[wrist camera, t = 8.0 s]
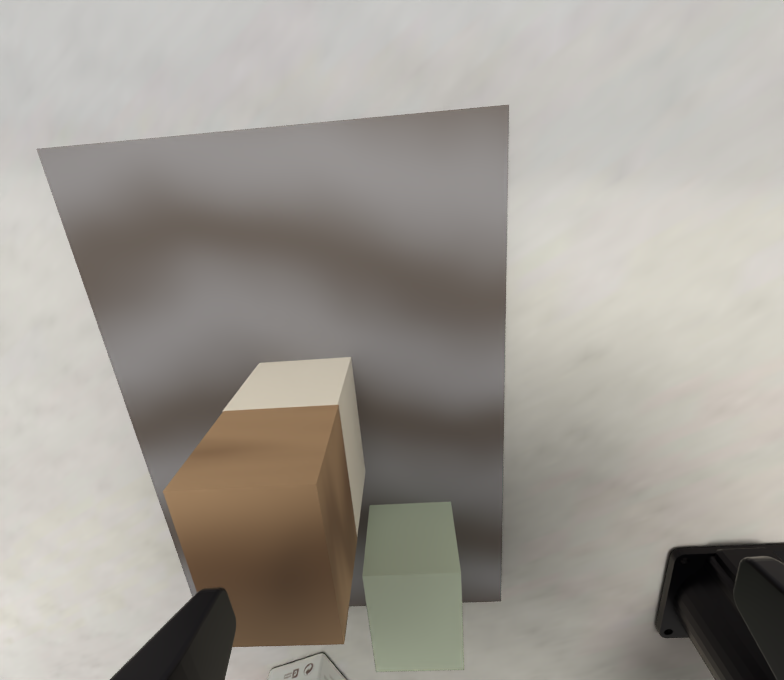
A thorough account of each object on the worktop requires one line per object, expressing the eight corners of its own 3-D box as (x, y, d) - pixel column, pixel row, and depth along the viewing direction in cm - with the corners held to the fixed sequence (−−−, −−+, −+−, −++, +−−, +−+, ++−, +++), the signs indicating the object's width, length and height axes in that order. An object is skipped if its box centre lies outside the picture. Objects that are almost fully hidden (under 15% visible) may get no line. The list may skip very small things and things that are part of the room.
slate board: (496, 581, 24) (501, 601, 23) (206, 591, 25) (197, 611, 24) (501, 109, 16) (508, 104, 15) (61, 150, 17) (36, 148, 16)
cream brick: (365, 472, 20) (356, 538, 17) (283, 476, 21) (256, 542, 17) (350, 356, 18) (337, 404, 15) (259, 362, 18) (222, 410, 15)
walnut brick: (357, 539, 17) (344, 644, 13) (256, 542, 17) (215, 647, 13) (338, 404, 15) (316, 484, 11) (223, 410, 15) (162, 491, 11)
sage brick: (454, 589, 23) (463, 669, 19) (380, 592, 23) (376, 672, 20) (450, 501, 21) (460, 572, 17) (369, 505, 21) (362, 576, 17)
